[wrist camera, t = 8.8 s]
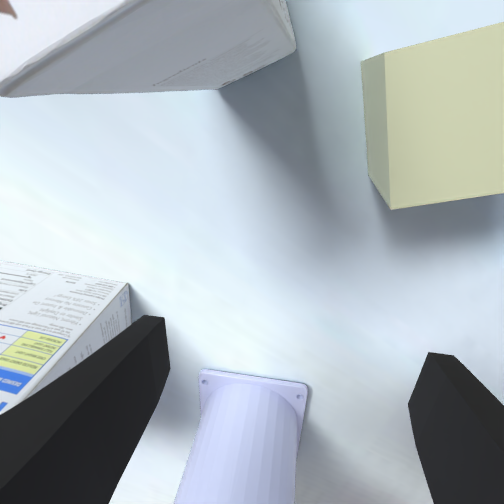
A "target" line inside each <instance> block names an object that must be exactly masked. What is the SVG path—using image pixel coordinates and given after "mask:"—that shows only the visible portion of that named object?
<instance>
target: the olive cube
mask: <svg viewBox="0 0 504 504" xmlns="http://www.w3.org/2000/svg"><path fill="white" fill-rule="evenodd" d="M361 74H362V89H363V103H364V118H365V132H366V147H367V161H368V176H369V177H370V179H371V180H372V182H373V183H374V185H375V186H376V188H377V189H378V191H379V193H380V194H381V196H382V197H383V199H384V200H385V202H386V203H387V205H388V206H389V208H390V210H393V209H400V208H407V207H413V206H420V205H427V204H433V203H440V202H447V201H453V200H460V199H467V198H474V197H480V196H487V195H494V194H500V193H504V22H501V23H498V24H494V25H490V26H486V27H482V28H478V29H474V30H470V31H466V32H463V33H459V34H455V35H451V36H447V37H443V38H439V39H435V40H432V41H428V42H424V43H420V44H416V45H412V46H408V47H404V48H401V49H397V50H393V51H389V52H385V53H382V54H380V55H377V56H374V57H372V58H369V59H366V60H364V61H361Z"/></svg>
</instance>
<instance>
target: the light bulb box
mask: <svg viewBox="0 0 504 504" xmlns="http://www.w3.org/2000/svg"><path fill="white" fill-rule="evenodd" d="M131 324H132V321H131V308H130V297H129V285H128V283H123V282H117V281H112V280H106V279H100V278H95V277H89V276H84V275H78V274H72V273H67V272H61V271H56V270H50V269H45V268H39V267H33V266H28V265H22V264H16V263H11V262H5V261H0V415H1V414H2V413H4V412H6V411H7V410H9V409H11V408H12V407H14V406H16V405H17V404H19V403H21V402H22V401H24V400H25V399H27V398H28V397H30V396H32V395H33V394H35V393H36V392H38V391H39V390H41V389H42V388H44V387H45V386H47V385H48V384H50V383H51V382H52V381H54V380H55V379H57V378H58V377H60V376H61V375H63V374H64V373H66V372H67V371H69V370H70V369H72V368H73V367H75V366H76V365H77V364H79V363H80V362H82V361H83V360H84V359H86V358H87V357H88V356H90V355H91V354H93V353H94V352H95V351H97V350H98V349H99V348H101V347H102V346H103V345H105V344H106V343H107V342H109V341H110V340H111V339H113V338H114V337H115V336H117V335H118V334H119V333H121V332H122V331H123V330H125V329H126V328H127V327H129V326H130V325H131Z"/></svg>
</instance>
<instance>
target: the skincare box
mask: <svg viewBox="0 0 504 504" xmlns="http://www.w3.org/2000/svg"><path fill="white" fill-rule="evenodd" d="M295 50H296V42H295V37H294V33H293V28H292V24H291V20H290V16H289V12H288V8H287V4H286V0H0V96H1V97H9V98H13V97H26V96H37V95H50V94H114V93H143V92H165V91H188V90H217V89H220V88H222V87H224V86H226V85H228V84H230V83H232V82H234V81H236V80H239V79H241V78H243V77H245V76H247V75H249V74H251V73H253V72H255V71H257V70H259V69H261V68H264V67H266V66H268V65H270V64H272V63H274V62H276V61H278V60H280V59H282V58H284V57H286V56H288V55H290V54H291V53H293V52H294V51H295Z"/></svg>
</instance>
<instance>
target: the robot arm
mask: <svg viewBox="0 0 504 504" xmlns="http://www.w3.org/2000/svg"><path fill="white" fill-rule="evenodd" d="M169 371H170V361H169V353H168V344H167V336H166V328H165V319H164V317H156V316H149V315H143V316H142V317H141V318H139V319H138V320H137V321H135V322H134V323H133V324H131V325H130V326H129V327H127V328H126V329H125V330H123V331H122V332H121V333H119V334H118V335H117V336H115V337H114V338H113V339H111V340H110V341H109V342H107V343H106V344H105V345H103V346H102V347H101V348H99V349H98V350H97V351H95V352H94V353H93V354H91V355H90V356H88V357H87V358H86V359H84V360H83V361H82V362H80V363H79V364H77V365H76V366H75V367H73V368H72V369H70V370H69V371H67V372H66V373H64V374H63V375H61V376H60V377H58V378H57V379H55V380H54V381H52V382H51V383H50V384H48V385H47V386H45V387H44V388H42V389H41V390H39V391H38V392H36V393H35V394H33V395H32V396H30V397H28V398H27V399H25V400H24V401H22V402H21V403H19V404H17V405H16V406H14V407H12V408H11V409H9V410H7V411H6V412H4V413H2V414H1V415H0V504H109V502H110V499H111V497H112V495H113V493H114V491H115V489H116V486H117V484H118V482H119V480H120V478H121V476H122V474H123V472H124V470H125V468H126V466H127V464H128V462H129V460H130V458H131V456H132V454H133V452H134V450H135V448H136V446H137V444H138V442H139V440H140V438H141V436H142V434H143V432H144V430H145V428H146V426H147V424H148V422H149V420H150V418H151V416H152V414H153V412H154V410H155V408H156V406H157V404H158V402H159V399H160V396H161V394H162V391H163V388H164V386H165V383H166V380H167V377H168V374H169ZM198 377H199V393H200V409H201V419H200V422H199V425H198V429H197V432H196V435H195V438H194V441H193V444H192V447H191V450H190V454H189V457H188V460H187V463H186V466H185V469H184V472H183V476H182V479H181V482H180V485H179V488H178V491H177V494H176V497H175V501H174V504H295V477H296V459H297V453H298V447H299V442H300V436H301V430H302V424H303V418H304V412H305V406H306V400H307V394H308V387H307V386H306V385H305V384H302V383H296V382H289V381H282V380H275V379H269V378H262V377H255V376H248V375H242V374H235V373H228V372H221V371H215V370H208V369H203V370H201V371H200V373H199V376H198ZM408 408H409V413H410V419H411V425H412V430H413V435H414V439H415V444H416V448H417V451H418V455H419V458H420V461H421V464H422V468H423V471H424V474H425V477H426V480H427V484H428V487H429V490H430V493H431V496H432V499H433V502H434V504H504V405H503V404H502V403H501V402H500V401H499V400H498V399H497V398H496V397H495V396H494V395H493V394H492V393H491V392H490V391H489V390H488V389H487V388H486V387H485V386H484V385H483V384H482V383H481V382H480V381H479V380H478V379H477V378H476V377H475V376H474V375H473V374H472V373H471V372H470V371H469V370H468V369H467V368H466V367H465V366H464V365H463V364H462V363H461V362H460V361H459V360H458V359H457V358H456V357H455V356H454V355H446V354H439V353H431V352H428V355H427V357H426V360H425V362H424V365H423V367H422V370H421V373H420V375H419V378H418V380H417V383H416V385H415V388H414V390H413V393H412V395H411V398H410V400H409V403H408Z"/></svg>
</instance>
